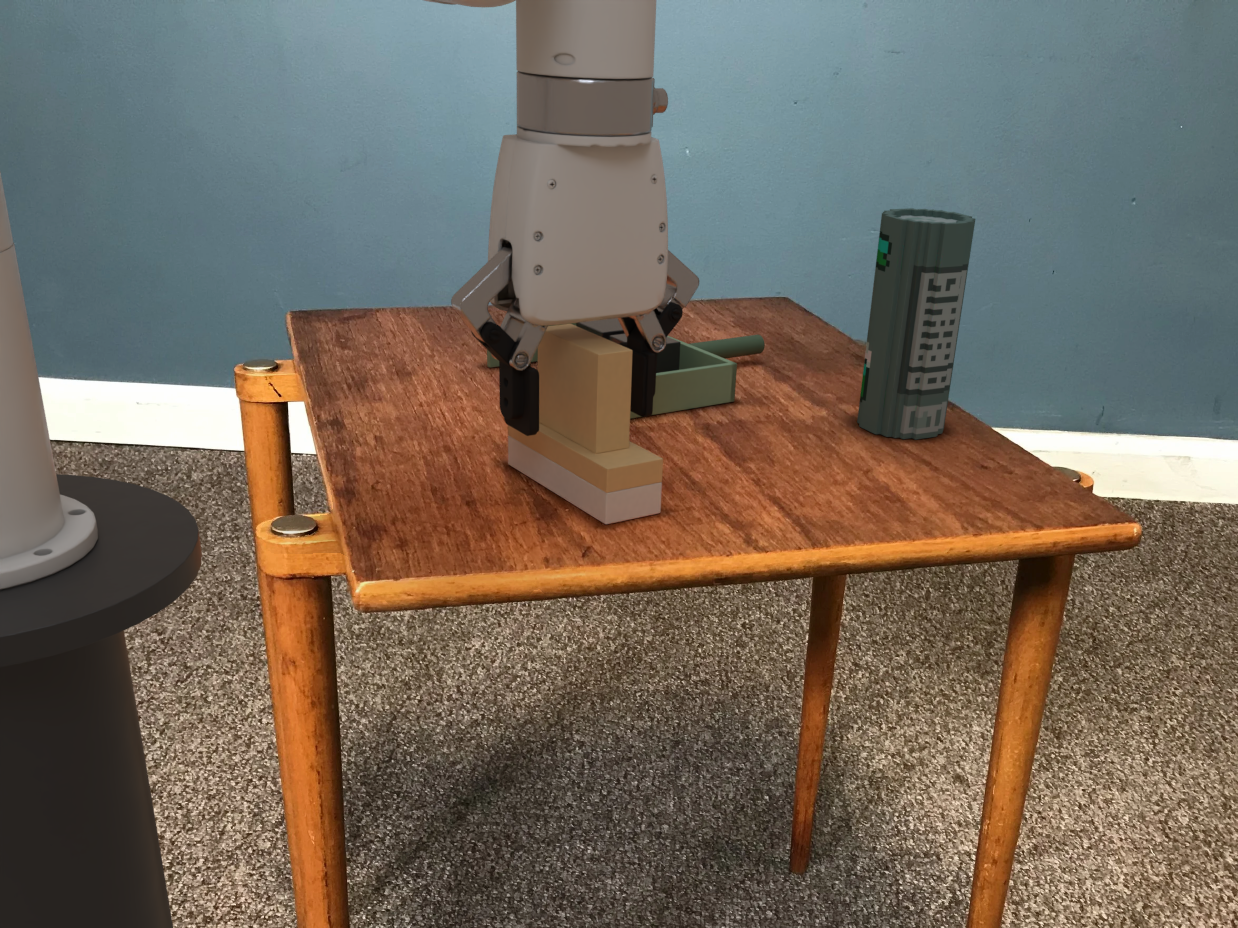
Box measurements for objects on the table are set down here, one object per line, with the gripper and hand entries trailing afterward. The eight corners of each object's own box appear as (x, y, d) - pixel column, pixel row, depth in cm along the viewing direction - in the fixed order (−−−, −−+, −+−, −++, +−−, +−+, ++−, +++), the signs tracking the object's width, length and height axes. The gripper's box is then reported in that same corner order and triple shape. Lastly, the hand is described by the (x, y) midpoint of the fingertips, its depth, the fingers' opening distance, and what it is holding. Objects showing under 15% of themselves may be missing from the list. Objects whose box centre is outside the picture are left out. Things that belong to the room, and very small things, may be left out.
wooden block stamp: (605, 525, 77) (610, 366, 73) (507, 464, 86) (506, 319, 81) (660, 513, 79) (668, 358, 75) (559, 455, 88) (561, 313, 83)
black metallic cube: (601, 382, 103) (602, 332, 102) (574, 370, 106) (575, 321, 104) (642, 376, 106) (644, 327, 104) (616, 364, 108) (617, 316, 107)
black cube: (635, 399, 100) (637, 347, 98) (607, 385, 103) (609, 335, 101) (678, 392, 102) (680, 341, 100) (649, 379, 105) (651, 330, 103)
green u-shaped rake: (597, 424, 94) (598, 383, 93) (486, 366, 106) (486, 329, 105) (822, 387, 105) (826, 350, 104) (699, 338, 117) (701, 304, 116)
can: (907, 410, 101) (934, 207, 94) (958, 433, 96) (991, 221, 89) (843, 418, 98) (866, 210, 91) (892, 442, 93) (921, 225, 86)
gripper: (674, 102, 79) (660, 386, 87) (410, 105, 70) (423, 422, 78) (749, 116, 74) (728, 417, 82) (475, 121, 65) (481, 459, 73)
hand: (579, 418), depth 80 cm, fingers open, 7 cm apart
